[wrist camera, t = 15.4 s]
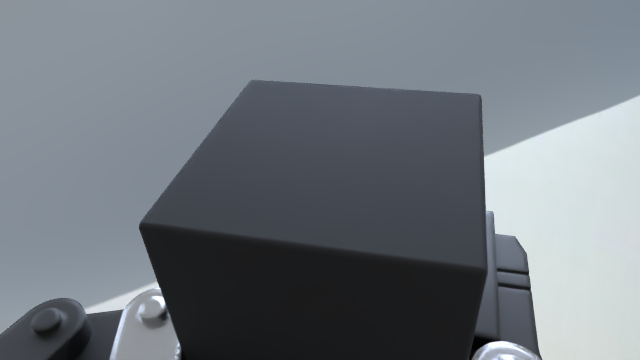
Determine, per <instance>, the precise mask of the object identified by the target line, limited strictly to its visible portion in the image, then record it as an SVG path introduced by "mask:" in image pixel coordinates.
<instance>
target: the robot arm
mask: <svg viewBox="0 0 640 360" xmlns="http://www.w3.org/2000/svg"><path fill="white" fill-rule="evenodd" d="M486 231H487V258H488V275H487V279H486V284H485V289H484V293H483V298H482V302H481V307H480V311H479V316H478V320H477V325H476V329H475V334H474V338H473V343H472V347H471V352H470V356H469V360H542V358H541V355H540V353H539V348H538V341H537V333H536V325H535V317H534V309H533V301H532V293H531V285H530V277H529V269H528V261H527V253H526V252H525V251H524V249H523V248H522V246H521V245H520V243H519V242H518V240H517V239H516V237H515V236H507V235H499V234H495V229H494V214H493V212H492V211H486ZM0 360H186V359H185V356H184V354H183V351H182V349H181V347H180V344H179V341H178V338H177V336H176V333H175V330H174V327H173V324H172V321H171V318H170V316H169V313H168V310H167V307H166V304H165V301H164V298H163V295H162V293H161V290H160V287H159V288H154V289H150V290H148V291H145V292H143V293H141V294H140V295H138V296H137V297H135V298H134V299H133V300H132V301H131V302H129V304H128V305H127V306H126V308H125V309H123V310H117V311H109V312H101V313H92V314H86V313H85V311H84V309H83V307H82V305H81V304H80V303H79V302H77V301H76V300H73V299H69V298H58V299H53V300H49V301H46V302H44V303H42V304H40V305H38V306H36V307H34V308H33V309H31V310H30V311H29V312H28V313H26V314H25V315H24V316H23V317H21V318H20V319H19V320H17V321H16V322H15V323H14V324H13V325H11V326H10V327H9V328H8V329H7V330H5V331H4V332H3V333H2V334H0Z"/></svg>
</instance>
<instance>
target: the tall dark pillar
mask: <svg viewBox="0 0 640 360" xmlns="http://www.w3.org/2000/svg"><path fill="white" fill-rule="evenodd" d="M139 230H140V232H141V235H142V238H143V241H144V244H145V247H146V249H147V253H148V255H149V258H150V261H151V264H152V267H153V269H154V272H155V275H156V278H157V281H158V284H159V287H160V290H161V293H162V295H163V298H164V301H165V304H166V307H167V310H168V313H169V316H170V318H171V321H172V324H173V327H174V330H175V333H176V336H177V338H178V341H179V344H180V347H181V349H182V351H183V354H184V356H185V359H186V360H469V356H470V352H471V347H472V343H473V338H474V334H475V329H476V325H477V320H478V316H479V311H480V307H481V302H482V298H483V293H484V289H485V284H486V279H487V275H488V258H487V231H486V205H485V178H484V152H483V127H482V100H481V96H480V95H478V94H469V93H453V92H437V91H421V90H405V89H390V88H374V87H359V86H343V85H327V84H311V83H295V82H280V81H263V80H251V81H250V82H249V83H248V84H247V85H246V87H245V88H244V89H243V91H242V92H241V93H240V94H239V96H238V97H237V98H236V99H235V101H234V102H233V103H232V105H231V106H230V107H229V108H228V110H227V111H226V112H225V114H224V115H223V116H222V117H221V119H220V120H219V121H218V123H217V124H216V125H215V126H214V128H213V129H212V130H211V132H210V133H209V134H208V135H207V137H206V138H205V139H204V141H203V142H202V143H201V145H200V146H199V147H198V148H197V150H196V151H195V152H194V154H193V155H192V156H191V157H190V159H189V160H188V161H187V163H186V164H185V165H184V166H183V168H182V169H181V170H180V172H179V173H178V174H177V175H176V177H175V178H174V179H173V181H172V182H171V183H170V184H169V186H168V187H167V189H166V190H165V191H164V192H163V193H162V195H161V196H160V197H159V199H158V200H157V201H156V203H155V204H154V205H153V206H152V208H151V209H150V210H149V212H148V213H147V214H146V215H145V217H144V218H143V219H142V221H141V222H140V225H139Z"/></svg>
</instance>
